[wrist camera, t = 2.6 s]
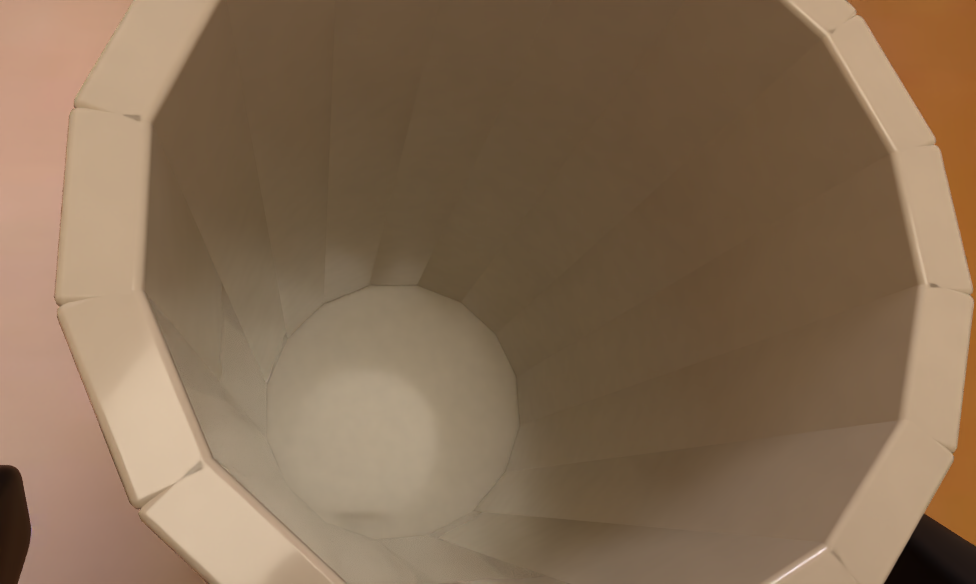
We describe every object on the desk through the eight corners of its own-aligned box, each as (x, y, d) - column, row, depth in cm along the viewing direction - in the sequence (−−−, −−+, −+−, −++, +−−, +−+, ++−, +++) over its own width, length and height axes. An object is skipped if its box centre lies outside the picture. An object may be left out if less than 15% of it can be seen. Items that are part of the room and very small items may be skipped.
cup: (574, 476, 18) (1119, 434, 6) (317, 616, 16) (319, 996, 4) (458, 236, 19) (715, -233, 7) (200, 339, 17) (-95, -67, 5)
